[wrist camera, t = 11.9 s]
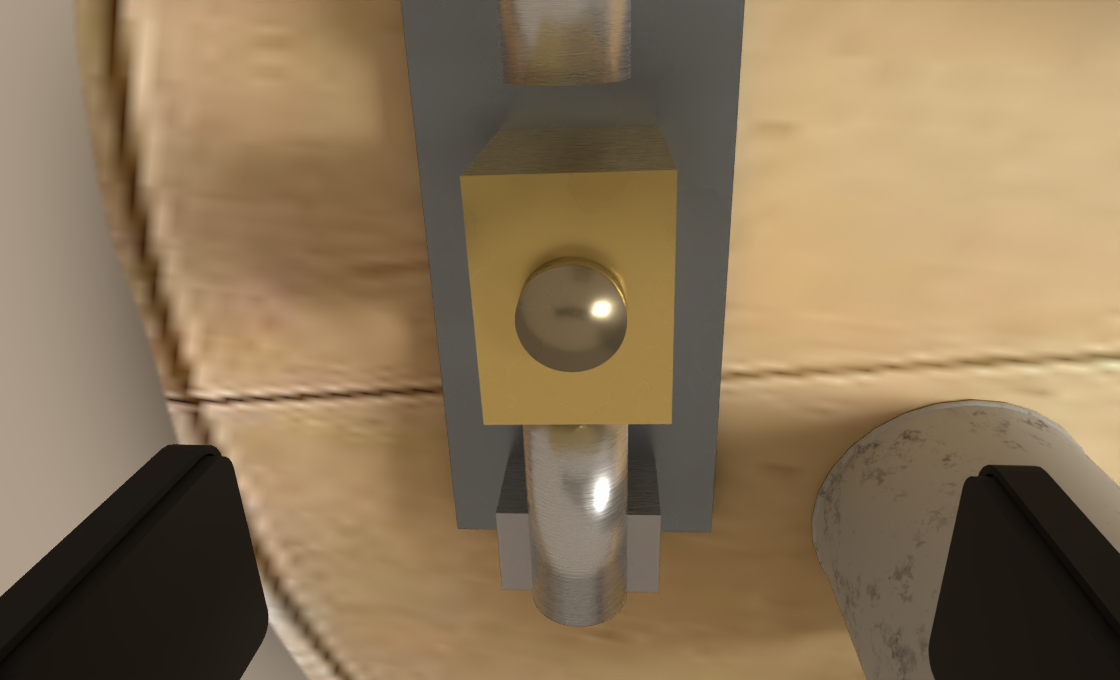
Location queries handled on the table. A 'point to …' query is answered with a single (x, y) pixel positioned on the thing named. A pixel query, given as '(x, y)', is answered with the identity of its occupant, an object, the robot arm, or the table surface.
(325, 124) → the table surface
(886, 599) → the grey can
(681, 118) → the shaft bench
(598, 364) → the coupler
